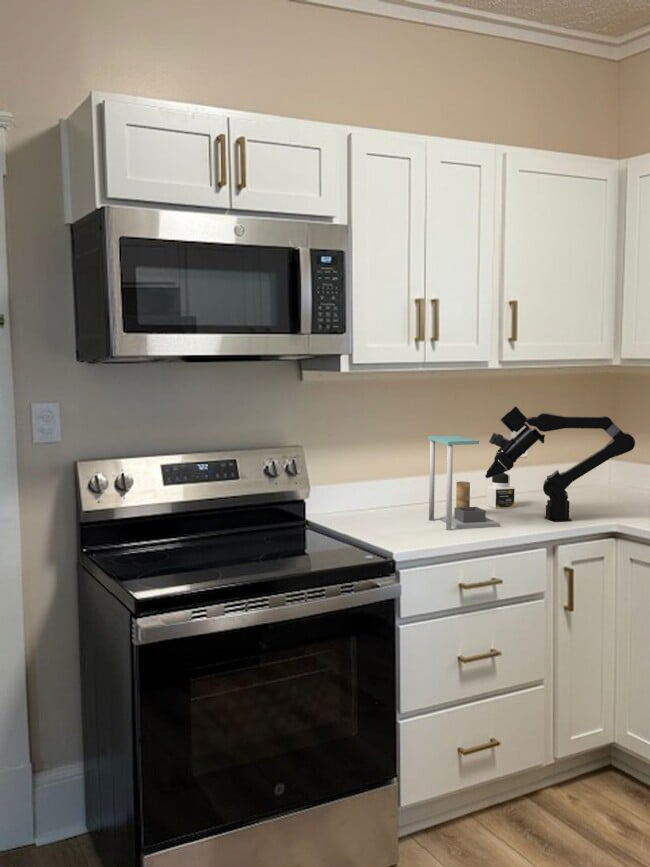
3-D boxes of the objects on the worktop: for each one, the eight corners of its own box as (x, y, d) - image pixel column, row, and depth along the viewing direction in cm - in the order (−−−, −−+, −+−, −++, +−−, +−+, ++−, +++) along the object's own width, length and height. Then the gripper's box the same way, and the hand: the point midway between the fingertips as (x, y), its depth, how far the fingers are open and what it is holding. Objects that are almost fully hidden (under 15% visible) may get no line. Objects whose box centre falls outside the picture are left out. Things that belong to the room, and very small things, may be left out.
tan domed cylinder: (466, 513, 290) (466, 481, 289) (471, 516, 286) (472, 483, 285) (453, 514, 289) (454, 481, 288) (459, 516, 285) (459, 483, 284)
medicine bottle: (495, 509, 299) (496, 474, 298) (486, 505, 306) (487, 471, 305) (514, 508, 301) (515, 473, 300) (504, 504, 308) (505, 471, 307)
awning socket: (479, 517, 284) (480, 435, 281) (501, 527, 267) (503, 440, 265) (427, 519, 280) (428, 436, 277) (446, 530, 263) (448, 441, 261)
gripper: (505, 422, 290) (471, 454, 294) (503, 427, 272) (467, 461, 276) (529, 446, 289) (494, 478, 293) (528, 452, 271) (491, 486, 275)
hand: (486, 475), depth 284 cm, fingers open, 9 cm apart
